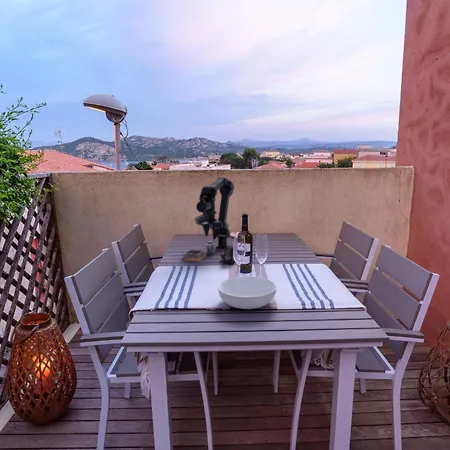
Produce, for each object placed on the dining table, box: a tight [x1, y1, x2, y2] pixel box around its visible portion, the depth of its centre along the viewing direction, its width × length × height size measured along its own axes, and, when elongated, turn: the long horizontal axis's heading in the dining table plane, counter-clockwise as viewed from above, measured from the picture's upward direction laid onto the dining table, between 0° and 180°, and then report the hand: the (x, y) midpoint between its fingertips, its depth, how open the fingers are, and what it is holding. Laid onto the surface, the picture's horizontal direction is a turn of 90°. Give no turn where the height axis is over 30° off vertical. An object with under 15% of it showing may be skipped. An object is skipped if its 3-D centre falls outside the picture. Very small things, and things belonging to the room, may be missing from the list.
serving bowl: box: [217, 275, 278, 310], centre depth 123 cm, size 21×21×7 cm
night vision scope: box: [220, 245, 236, 265], centre depth 175 cm, size 8×18×10 cm
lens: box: [205, 240, 216, 256], centre depth 189 cm, size 5×5×7 cm
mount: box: [181, 249, 207, 263], centre depth 181 cm, size 10×10×4 cm
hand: (210, 237), depth 188 cm, fingers open, 9 cm apart
